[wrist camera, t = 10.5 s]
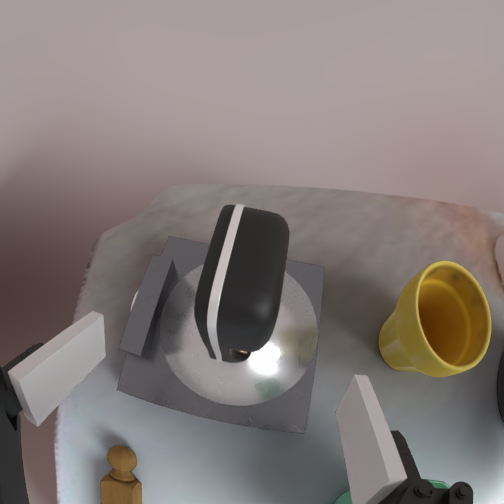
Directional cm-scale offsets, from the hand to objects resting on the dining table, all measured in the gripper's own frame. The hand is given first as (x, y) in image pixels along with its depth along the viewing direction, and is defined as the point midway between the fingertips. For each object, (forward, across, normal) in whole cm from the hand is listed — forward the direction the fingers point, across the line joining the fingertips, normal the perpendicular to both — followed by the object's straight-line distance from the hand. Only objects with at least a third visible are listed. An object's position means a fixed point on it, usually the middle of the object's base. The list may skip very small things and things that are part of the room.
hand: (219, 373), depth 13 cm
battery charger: (+9, 0, -2) cm, 10 cm away
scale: (+12, -1, -5) cm, 13 cm away
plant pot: (+14, +18, -4) cm, 23 cm away
